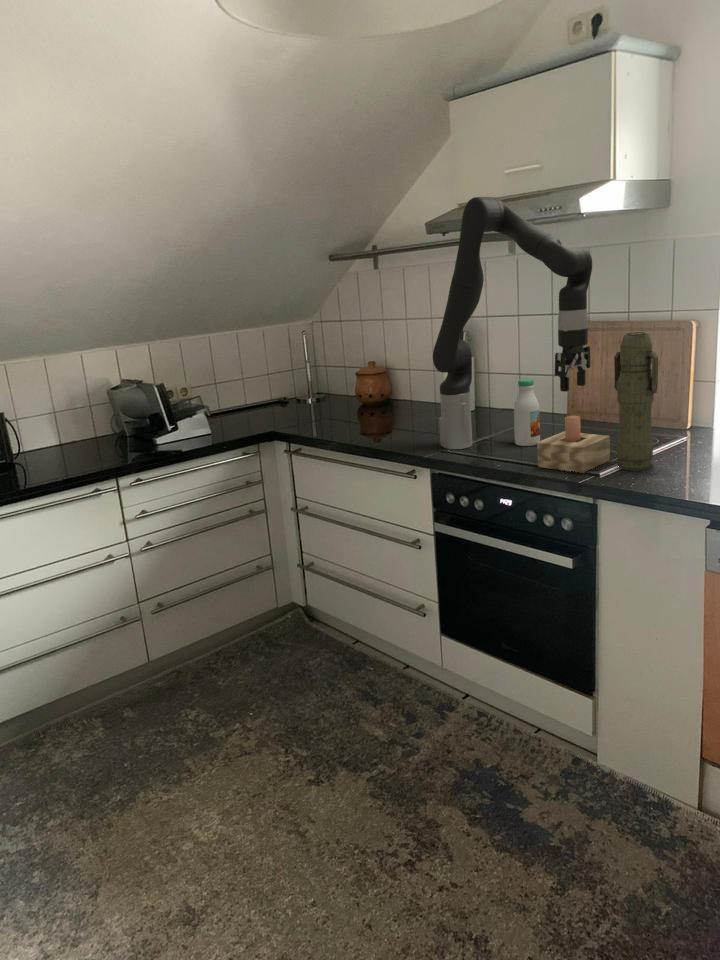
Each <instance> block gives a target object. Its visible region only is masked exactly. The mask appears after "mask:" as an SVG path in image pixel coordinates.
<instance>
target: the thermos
mask: <svg viewBox="0 0 720 960" xmlns="http://www.w3.org/2000/svg"><path fill="white" fill-rule="evenodd" d="M613 358H614V359H613V361H614V362H613V363H614V366H613V367H614V385H613V386H614V388H613V389H615V390H616V392H617V396H616V398H617V403H618V414H619V416H618V438H617V440H616V441H617V442H616V458H617V465H618V466H619V467H620V468H621V469H620V468H619V469H620V470H623V471H633V472H634V471H636V472H637V471H645V470H649V469H652V467H653V463H652V461H653V456H654V451H653V450H654V441H653V438H652V404H653V402H654V396H655V394H657V391H658V386H659V385H658V380H659V375H658V374H659V356H658V355H657V353H656V352H654V351H653V343H652V339H651V337H650V334H649V333H646V332H644V331H643V332H642V331H640V332H639V331H637V332H628V333H626V334H625V335H623V337H622V339H621V342H620V347H619V351H618V352H616V353H615V356H614V357H613ZM618 466H617V467H618Z"/></svg>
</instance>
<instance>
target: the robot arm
mask: <svg viewBox="0 0 720 960" xmlns="http://www.w3.org/2000/svg"><path fill="white" fill-rule="evenodd" d="M463 208H464V209H463V213H462V216H461V217H462V218H461V226H460V234H459V242H458V250H457V254H456V258H455V266H454V269H453V275H452V276H451V282H450V287H449V291H448V296H447V302H446V306H445V310H444V314H443V317H442V323H441V325H440V329H439V333H438V335H437V339H436V341H435V344H434V347H433V352H432V363H433V365H434V368H435V369H436V370H437V371H438V372H440V373H442V374H443V373H447V375H446V378H445V379H444V380H443V381H442V382H441V383H440V385H439V397H440V399H439V400H440V412H441V413H440V414H441V416H439V418H438V423H439V438H440V439H439V441H440V447H443V448H444V449H447V450H463V449H468V448H471V447H472V446H473V433H472V432H473V431H472V430H473V429H472V428H473V427H472V408H471V384H472V381H473V357H472V356H473V355H472V351H471V350H472V349H471V347H470V345H469V344H468V343H467V341H465V340H464V339H460V338H461V335H462V332H463V330H464V328H465V326H466V325H467V323H468V322H469V320H470V318H471V317H472V315H473V314H474V313H475V311H476V309H477V307H478V305H479V302H480V301H481V300H480V299H481V295H482V291H483V287H484V280H485V279H484V271H483V266H482V263H481V262H482V261H481V255H480V254H481V246H482V241H483V237H484V234H485V233H490V232H491V233H492V232H495V233H499V234H502V235H504V236H507V237H509V238H510V239H511V240H513V241H514V243H516V244H517V246H518V247H519V248H520V249H521V250H522V251H523V252H524V253H525V254H528V255H529V256H531V257H533V258H534V259H536V260H538V261H540V262H542V263H543V264H544V265H545V266H546V267H547V268H548V269H549V270H550V271H551V272H552V273H554V274H555V275H557V276H559V277H562V278H567V279H566V285H565V286H564V287H563V286H562V288H560V290H559V292H558V318H557V344H558V346H559V347H561V348H562V351H561V352H555V353H554V376H555V377H558V378H559V389H560V392H569V391H570V374H571V371H572V370H573V369H574V367H575V370H576V385H577V386H578V387H583V386H586V376H587V375H586V372H587V371H588V369H590V368H591V365H592V364H591V346H590V345H588V342H589V341H588V340H589V334H588V333H589V331H588V329H589V326H588V325H589V322H588V321H589V319H588V318H589V317H588V311H587V307H588V301H587V299H588V295H587V291H588V288H589V285H590V281H591V276H592V271H593V258H592V254H591V252H590V251H589V250H588V249H587V248H585V247H571V248H570V247H565V246H563V245H562V242H561V240H560V238H558V237H557V236H555V235H554V234H552V233H550V232H548V231H546V230H544V229H543V228H540V227H538V226H536V225H534V224H533V223H531V222H529V221H528V220H526V219H525V218H524V217H522V216H521V215H519V214H518V213H516V212H515V210H513V209H511V208H510V207H509V206H508V205H507V204H506V203H505V202H503V201H502V200H500V199H499V198H497V197H493V196H475V197H472V198H471V199H470V200H468V202H467V203H466V204H465V206H464V207H463Z"/></svg>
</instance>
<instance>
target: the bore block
mask: <svg viewBox="0 0 720 960" xmlns="http://www.w3.org/2000/svg"><path fill="white" fill-rule="evenodd" d="M610 439H611V436H610V435H605V434H604V435H603V434H593V433H586V432H581V441H580V442H569V441H566V440H565V430H564V431H561V432H560V433H557V434H554V435H552V436H550V437H549V436H548V437H547V438H545V439H542V440H540V441H539V442H537V445H536V446H537V447H536V450H537V467H538V468H544V469H552V470H557V469H558V471H564V470H565V471H564V472H571V471H573V472H572V473H578V472H579V473H580V474H585V472H586V471H588V470H590V469H592V470H594V469H596V468H598V467H599V465H600V466H602V465H604V464H606V463H608V462H610V461H609V460H611V449H610V448H611V447H610V446H611V445H610V443H611V441H610ZM607 461H608V462H607ZM605 462H606V463H605ZM603 463H604V464H603ZM601 464H602V465H601ZM597 466H598V467H597ZM595 467H596V468H595ZM593 468H594V469H593ZM574 471H575V472H574ZM590 471H591V470H590ZM588 472H589V471H588ZM586 473H587V472H586Z"/></svg>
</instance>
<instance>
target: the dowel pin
mask: <svg viewBox="0 0 720 960" xmlns="http://www.w3.org/2000/svg"><path fill="white" fill-rule="evenodd" d="M564 431H565V440H566V441H569V442H580V441H581V433H582V431H581V416H579V415H569V416H565V417H564Z"/></svg>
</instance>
